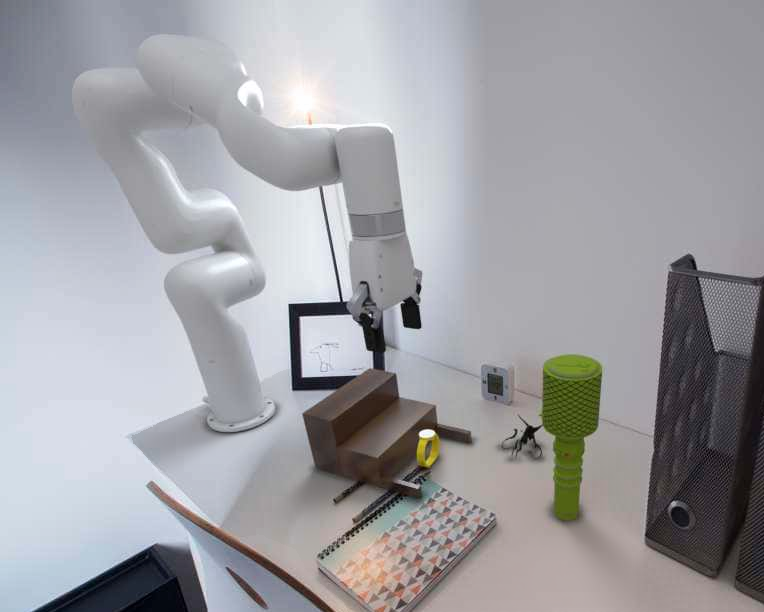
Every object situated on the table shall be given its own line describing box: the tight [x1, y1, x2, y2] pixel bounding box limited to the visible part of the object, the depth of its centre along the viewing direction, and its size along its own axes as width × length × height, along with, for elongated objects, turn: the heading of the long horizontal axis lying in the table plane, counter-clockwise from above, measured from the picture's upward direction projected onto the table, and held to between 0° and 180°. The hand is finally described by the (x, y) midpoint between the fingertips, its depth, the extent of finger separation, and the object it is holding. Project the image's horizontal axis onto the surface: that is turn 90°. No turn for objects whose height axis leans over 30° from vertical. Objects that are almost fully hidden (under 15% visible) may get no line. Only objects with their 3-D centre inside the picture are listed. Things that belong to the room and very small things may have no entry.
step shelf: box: [301, 367, 472, 500], centre depth 91 cm, size 21×18×11 cm
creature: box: [501, 413, 543, 460], centre depth 93 cm, size 8×5×8 cm
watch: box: [416, 429, 440, 469], centre depth 90 cm, size 6×3×6 cm, turn 160°
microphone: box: [538, 354, 604, 522], centre depth 74 cm, size 8×8×25 cm
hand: (395, 339), depth 82 cm, fingers open, 9 cm apart
